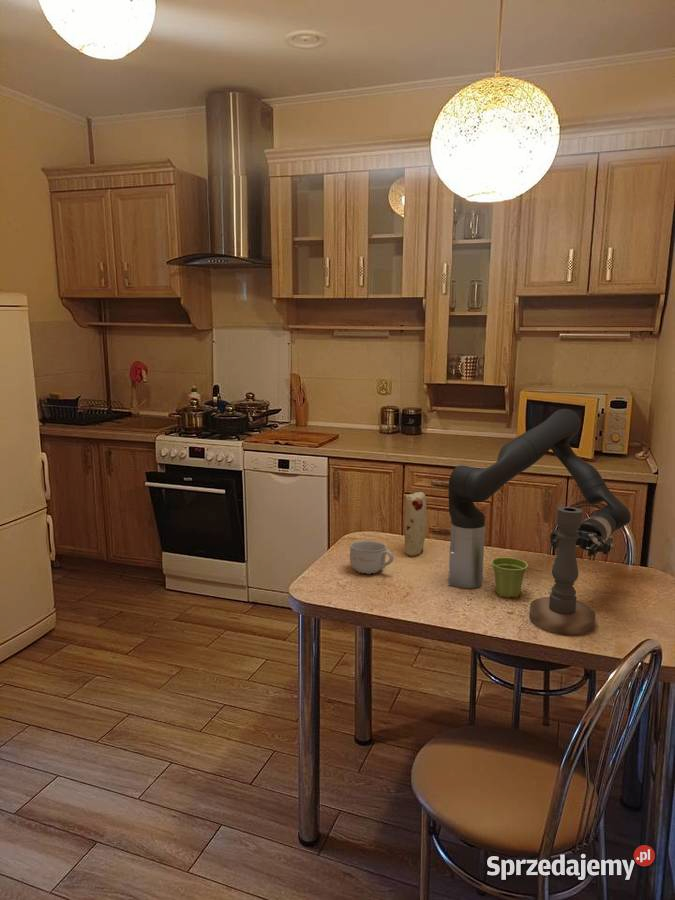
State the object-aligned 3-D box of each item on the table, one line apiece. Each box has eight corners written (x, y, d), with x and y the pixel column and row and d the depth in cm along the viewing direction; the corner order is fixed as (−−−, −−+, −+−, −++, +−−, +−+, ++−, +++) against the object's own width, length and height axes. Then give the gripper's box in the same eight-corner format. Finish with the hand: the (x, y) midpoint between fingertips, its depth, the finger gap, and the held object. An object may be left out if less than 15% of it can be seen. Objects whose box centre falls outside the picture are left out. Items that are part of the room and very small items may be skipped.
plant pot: (498, 584, 175) (499, 554, 174) (531, 592, 170) (533, 562, 168) (484, 594, 168) (485, 564, 166) (518, 603, 162) (519, 572, 161)
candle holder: (577, 615, 148) (586, 514, 144) (550, 612, 150) (557, 512, 146) (573, 605, 154) (581, 507, 150) (547, 602, 156) (554, 505, 152)
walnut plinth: (534, 633, 146) (535, 621, 146) (525, 606, 161) (525, 595, 160) (601, 637, 144) (602, 625, 144) (586, 609, 159) (587, 598, 158)
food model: (419, 559, 194) (421, 497, 190) (399, 556, 197) (400, 494, 193) (428, 550, 203) (430, 490, 199) (409, 547, 205) (410, 488, 202)
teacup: (342, 570, 185) (342, 544, 184) (367, 561, 193) (368, 536, 191) (375, 583, 175) (376, 556, 174) (401, 573, 182) (402, 547, 181)
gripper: (566, 514, 168) (544, 528, 156) (622, 524, 160) (603, 539, 147) (564, 540, 170) (542, 556, 157) (619, 551, 161) (600, 570, 149)
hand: (571, 548), depth 152 cm, fingers open, 8 cm apart
